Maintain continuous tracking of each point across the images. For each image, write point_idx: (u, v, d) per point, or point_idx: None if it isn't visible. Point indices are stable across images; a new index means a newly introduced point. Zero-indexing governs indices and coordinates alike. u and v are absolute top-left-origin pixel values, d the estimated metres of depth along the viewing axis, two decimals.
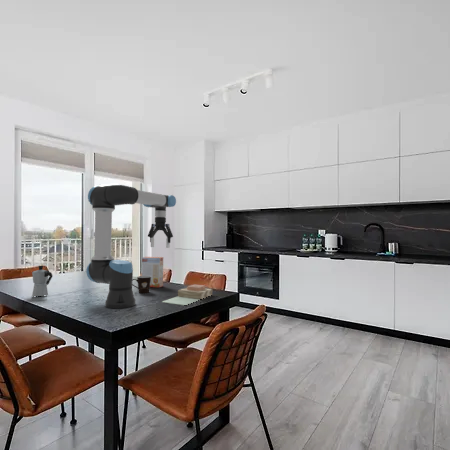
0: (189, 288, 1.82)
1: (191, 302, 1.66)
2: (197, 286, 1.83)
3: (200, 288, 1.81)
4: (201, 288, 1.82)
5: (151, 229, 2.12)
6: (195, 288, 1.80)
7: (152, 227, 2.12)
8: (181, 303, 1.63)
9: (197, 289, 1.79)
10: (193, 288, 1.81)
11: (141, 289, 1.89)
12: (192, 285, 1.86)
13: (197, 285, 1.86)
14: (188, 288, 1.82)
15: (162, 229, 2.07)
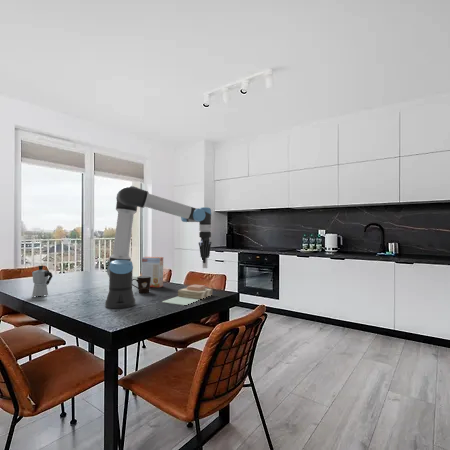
0: (189, 288, 1.82)
1: (191, 302, 1.66)
2: (197, 286, 1.83)
3: (200, 288, 1.81)
4: (201, 288, 1.82)
5: None
6: (195, 288, 1.80)
7: None
8: (181, 303, 1.63)
9: (197, 289, 1.79)
10: (193, 288, 1.81)
11: (141, 289, 1.89)
12: (192, 285, 1.86)
13: (197, 285, 1.86)
14: (188, 288, 1.82)
15: None
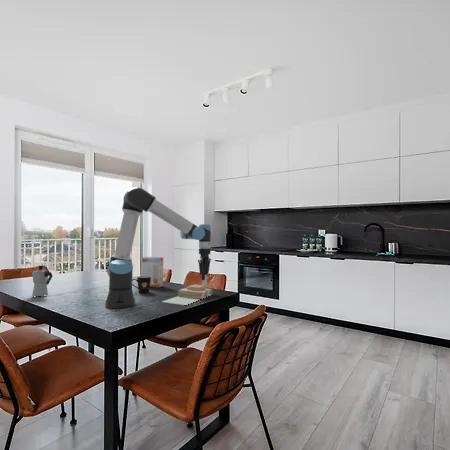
0: (189, 288, 1.82)
1: (191, 302, 1.66)
2: (197, 286, 1.83)
3: (200, 288, 1.81)
4: (201, 288, 1.82)
5: None
6: (195, 288, 1.80)
7: None
8: (181, 303, 1.63)
9: (197, 289, 1.79)
10: (193, 288, 1.81)
11: (141, 289, 1.89)
12: (192, 285, 1.86)
13: (197, 285, 1.86)
14: (188, 288, 1.82)
15: None
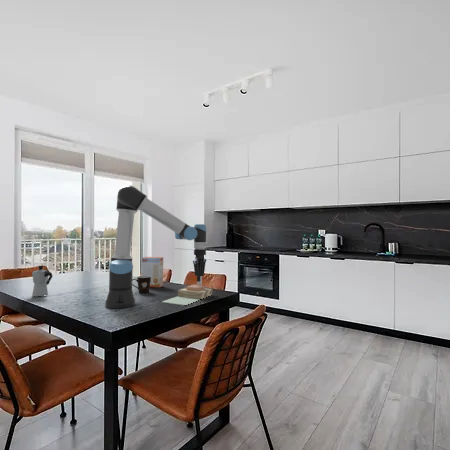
0: (188, 288, 1.81)
1: (191, 302, 1.66)
2: (196, 286, 1.82)
3: (199, 288, 1.80)
4: (200, 288, 1.81)
5: None
6: (194, 288, 1.79)
7: None
8: (181, 303, 1.63)
9: (196, 290, 1.79)
10: (192, 288, 1.80)
11: (141, 289, 1.89)
12: (191, 285, 1.85)
13: (196, 285, 1.85)
14: (187, 288, 1.81)
15: None
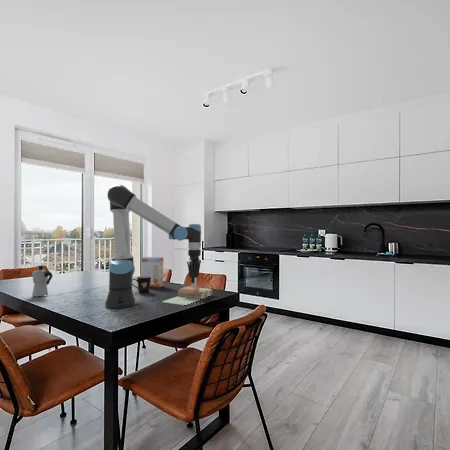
0: (182, 290, 1.75)
1: (191, 302, 1.66)
2: (191, 288, 1.76)
3: (194, 290, 1.74)
4: (195, 290, 1.75)
5: None
6: (189, 290, 1.73)
7: None
8: (181, 303, 1.63)
9: (190, 292, 1.73)
10: (186, 290, 1.74)
11: (141, 289, 1.89)
12: (186, 287, 1.79)
13: (191, 287, 1.80)
14: (181, 290, 1.75)
15: None
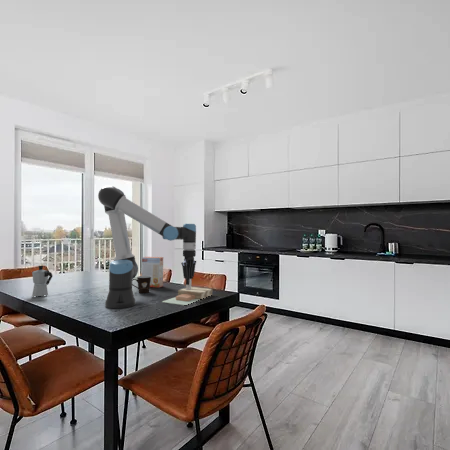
0: (178, 298, 1.71)
1: (191, 302, 1.66)
2: (186, 296, 1.72)
3: (189, 298, 1.70)
4: (190, 298, 1.71)
5: None
6: (184, 298, 1.69)
7: None
8: (181, 303, 1.63)
9: (186, 300, 1.68)
10: (182, 298, 1.70)
11: (141, 289, 1.89)
12: (181, 295, 1.75)
13: (186, 295, 1.75)
14: (177, 298, 1.71)
15: None
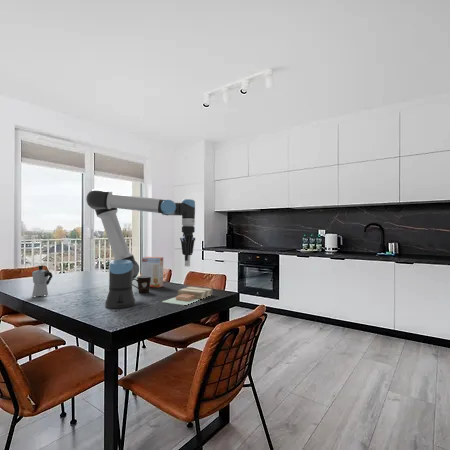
0: (178, 298, 1.71)
1: (191, 302, 1.66)
2: (186, 296, 1.72)
3: (189, 298, 1.70)
4: (190, 298, 1.71)
5: None
6: (184, 298, 1.69)
7: None
8: (181, 303, 1.63)
9: (186, 300, 1.68)
10: (182, 298, 1.70)
11: (141, 289, 1.89)
12: (181, 294, 1.75)
13: (186, 294, 1.75)
14: (177, 298, 1.71)
15: None
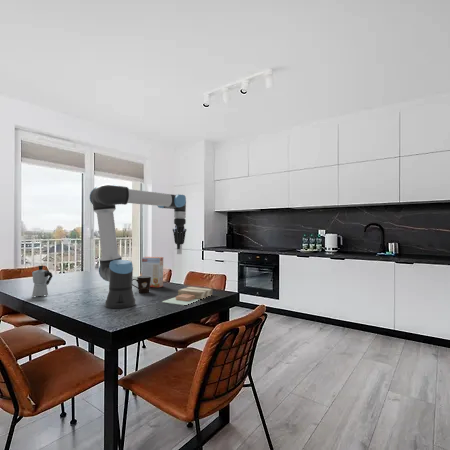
0: (178, 298, 1.71)
1: (191, 302, 1.66)
2: (186, 296, 1.72)
3: (189, 298, 1.70)
4: (190, 298, 1.71)
5: None
6: (184, 298, 1.69)
7: None
8: (181, 303, 1.63)
9: (186, 300, 1.68)
10: (182, 298, 1.70)
11: (141, 289, 1.89)
12: (181, 294, 1.75)
13: (186, 294, 1.75)
14: (177, 298, 1.71)
15: None
